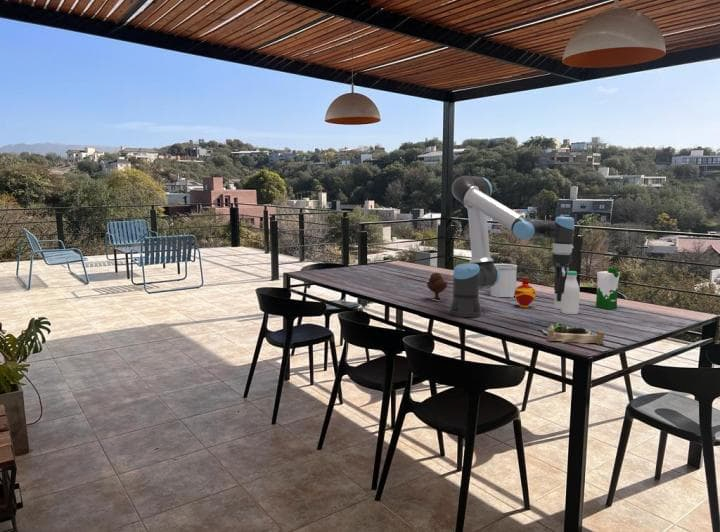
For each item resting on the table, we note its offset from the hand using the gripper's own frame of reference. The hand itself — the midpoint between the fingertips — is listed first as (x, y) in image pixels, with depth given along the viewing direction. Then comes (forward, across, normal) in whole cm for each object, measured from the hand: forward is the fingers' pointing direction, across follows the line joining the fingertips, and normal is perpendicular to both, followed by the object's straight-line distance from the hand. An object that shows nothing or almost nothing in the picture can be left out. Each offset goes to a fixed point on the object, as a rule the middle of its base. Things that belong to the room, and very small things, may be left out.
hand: (557, 308), depth 215 cm
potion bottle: (+8, +35, +8) cm, 37 cm away
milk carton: (+7, +41, -32) cm, 53 cm away
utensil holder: (+9, +65, +16) cm, 68 cm away
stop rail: (+6, -30, -1) cm, 30 cm away
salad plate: (+7, -18, -1) cm, 20 cm away
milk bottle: (+7, +24, -11) cm, 28 cm away
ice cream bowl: (+10, +44, +52) cm, 69 cm away
